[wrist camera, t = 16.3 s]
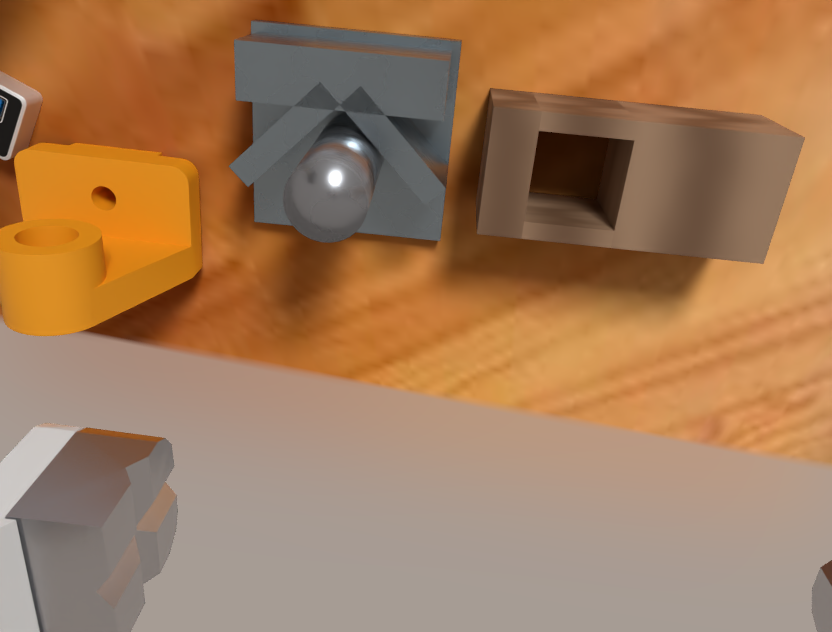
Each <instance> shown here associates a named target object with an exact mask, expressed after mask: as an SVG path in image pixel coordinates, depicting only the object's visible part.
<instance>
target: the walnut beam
mask: <svg viewBox="0 0 832 632" xmlns="http://www.w3.org/2000/svg"><path fill="white" fill-rule="evenodd" d="M539 131H545V132H555V133H565V134H575V135H585V136H595V137H605V138H609V142H608V147H607V152H606V157H605V162H604V166H603V171H602V176H601V181H600V186H599V191H598V195H597V199H593V198H583V197H573V196H564V195H554V194H544V193H534V192H529V189H530V182H531V176H532V170H533V164H534V158H535V152H536V145H537V139H538V133H539ZM804 139H805V137H803V136H801V135H799V134H797V133H795V132H793V131H791V130H789V129H787V128H785V127H783V126H781V125H779V124H777V123H776V122H774V121H772V120H770V119H768V118H766V117H764V116H762V115H753V114H743V113H733V112H723V111H713V110H703V109H693V108H683V107H673V106H663V105H653V104H643V103H633V102H623V101H613V100H603V99H593V98H583V97H573V96H563V95H553V94H543V93H533V92H523V91H513V90H503V89H493V88H490V96H489V103H488V111H487V119H486V127H485V135H484V142H483V150H482V158H481V166H480V173H479V181H478V189H477V197H476V221H477V234H481V235H491V236H500V237H510V238H519V239H529V240H539V241H548V242H558V243H568V244H577V245H587V246H596V247H606V248H616V249H625V250H635V251H644V252H654V253H664V254H673V255H683V256H693V257H702V258H712V259H721V260H731V261H741V262H750V263H760V264H763V263H764V260H765V257H766V254H767V251H768V248H769V245H770V242H771V239H772V236H773V233H774V230H775V227H776V224H777V221H778V218H779V215H780V212H781V209H782V206H783V203H784V200H785V197H786V194H787V191H788V188H789V185H790V182H791V179H792V176H793V173H794V170H795V167H796V164H797V160H798V157H799V154H800V151H801V148H802V145H803V142H804Z"/></svg>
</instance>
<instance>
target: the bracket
mask: <svg viewBox="0 0 832 632" xmlns="http://www.w3.org/2000/svg"><path fill="white" fill-rule="evenodd" d="M14 165H15V172H16V178H17V184H18V191H19V197H20V203H21V210H22V216H23V222H19V223H15V224H11V225H8V226H6V227H3V228H1V229H0V302H1V307H2V313H3V318H4V322H5V324H6V325H7V327H9V328H10V329H12V330H14V331H16V332H19V333H22V334H27V335H34V336H57V335H65V334H71V333H75V332H79V331H83V330H86V329H88V328H91V327H93V326H95V325H97V324H99V323H101V322H103V321H105V320H107V319H110V318H112V317H114V316H116V315H118V314H120V313H122V312H124V311H126V310H128V309H130V308H132V307H134V306H136V305H138V304H140V303H142V302H144V301H146V300H148V299H150V298H152V297H155V296H157V295H159V294H161V293H163V292H165V291H167V290H169V289H171V288H173V287H175V286H177V285H179V284H181V283H183V282H185V281H187V280H189V279H191V278H193V277H194V276H195V275H196V274H197V272H198V271H199V270H200V269H201V268H202V244H201V219H200V194H199V174H198V171H197V169H196V167H195V166H194V165H193V164H192V163H191V162H190V161H188V160H186V159H182V158H173V157H165V156H162V153H160V152H152V151H143V150H134V149H125V148H117V147H108V146H99V145H91V144H82V143H74V144H72V145H60V144H52V143H38V144H36V145H34V146H31V147H29V148H26V149H24V150H22V151H20V152H18V153H17V154H16V156H15V159H14Z"/></svg>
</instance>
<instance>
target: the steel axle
mask: <svg viewBox="0 0 832 632" xmlns="http://www.w3.org/2000/svg"><path fill="white" fill-rule="evenodd" d="M383 161H384V157H383V155H382V154H381V153H380V152H379V151H378V149H377V148H376V147H375V146H374V145H373V144H372V142H371V141H370V140H369V139H368V138H367V137H366V135H365V134H364V133H363V132H362V131H361V129H360V128H359V127H358V126H357V125H356V124H355V122H354V121H353V120H352V119H351V118H350V117H349V115H348V114H347V113H344V114H341V115H338V116H336V117H335V118H333V119H332V120H331V121H330V122H329V123H328V124H327V125H326V127H325V128H324V129H323V131H322V132H321V134H320V135H319V136H318V138H317V139H316V141H315V142H314V143H313V145H312V146H311V148H310V149H309V150H308V152H307V153H306V155H305V156H304V157H303V159H302V160H301V162H300V163H299V164H298V166H297V167H296V168H295V170H294V171H293V173H292V174H291V175H290V177H289V178H288V180H287V182H286V184H285V187H284V191H283V206H284V210H285V213H286V215H287V217H288V219H289V221H290V222H291V224H292V225H293V226H294V228H295V229H297V230H298V231H299V232H300V233H301V234H303V235H304V236H306V237H308V238H310V239H312V240H315V241H319V242H328V243H330V242H338V241H341V240H344V239H346V238H348V237H350V236H351V235H353V234H354V233H355V232H356V231H357V230H358V229H359V228H360V227H361V225H362V224H363V222H364V220H365V218H366V215H367V211H368V208H369V205H370V202H371V199H372V196H373V193H374V189H375V186H376V183H377V180H378V177H379V174H380V170H381V167H382V164H383Z"/></svg>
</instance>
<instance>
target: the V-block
mask: <svg viewBox="0 0 832 632" xmlns="http://www.w3.org/2000/svg"><path fill="white" fill-rule="evenodd" d="M461 42H462V40H456V39H446V38H436V37H426V36H416V35H406V34H395V33H385V32H375V31H365V30H355V29H345V28H334V27H324V26H314V25H304V24H294V23H284V22H274V21H263V20H253V21H251V34H250V35H247V36H244V37H241V38H238V39H235V40H234V52H235V88H236V100H238V101H248V102H252V104H253V144H252V145H251V146H250V147H249V148H248V149H247V150H246V151H245V152H244V153H242V154H241V155H240V156H239V157H238V158H237V159H236V160H235V161H234V162H233V163H232V164H231V165H229V167H230V168H231V169H232V171H233V172H234V173H235V174H236V175H237V176H238V177H239V178H240V179H241V180H242V181H243V182H244V183H245V184H246V185H247V186H248V187H249V186H250V185H251V184H252V183H253V182H254V222H262V223H272V224H282V225H291V226H293V225H292V224H291V222H290V221H289V219H288V217H287V215H286V213H285V210H284V206H283V191H284V187H285V184H286V182H287V180H288V178H289V177H290V175H291V174H292V173H293V171H294V170H295V168H296V167H297V166H298V164H299V163H300V162H301V160H302V159H303V157H304V156H305V155H306V153H307V152H308V150H309V149H310V148H311V146H312V145H313V143H314V142H315V141H316V139H317V138H318V136H319V135H320V134H321V132H322V131H323V129H324V128H325V127H326V125H327V124H328V123H329V122H330V121H331V120H332V119H333V118H335V117H336V116H338V115H341V114H344V113H347V114H348V115H349V117H350V118H351V119H352V120H353V121H354V122H355V124H356V125H357V126H358V127H359V128H360V129H361V131H362V132H363V133H364V134H365V135H366V137H367V138H368V139H369V140H370V141H371V142H372V144H373V145H374V146H375V147H376V148H377V149H378V151H379V152H380V153H381V154H382V155H383V157H384V161H383V164H382V167H381V170H380V174H379V177H378V180H377V183H376V186H375V189H374V193H373V196H372V199H371V202H370V205H369V208H368V211H367V215H366V218H365V220H364V222H363V224H362V225H361V227H360V228H359V229H358V230H357V231H356V232H358V233H368V234H377V235H387V236H397V237H406V238H416V239H425V240H435V241H440V237H441V228H442V218H443V209H444V200H445V190H446V184H447V174H448V163H449V153H450V144H451V135H452V125H453V116H454V107H455V98H456V88H457V79H458V70H459V60H460V51H461Z"/></svg>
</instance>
